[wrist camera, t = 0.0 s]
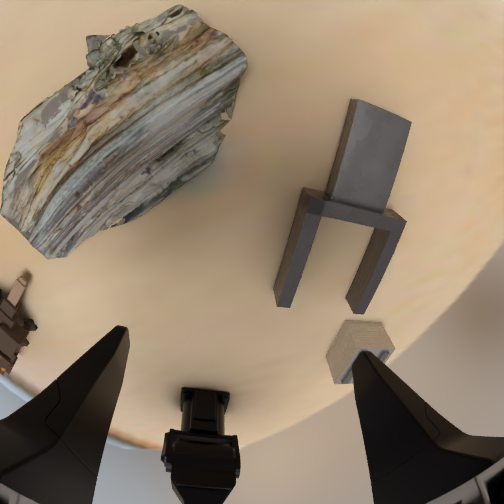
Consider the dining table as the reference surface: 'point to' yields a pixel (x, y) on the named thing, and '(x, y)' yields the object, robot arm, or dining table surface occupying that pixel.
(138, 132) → the rock
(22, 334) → the video game creature
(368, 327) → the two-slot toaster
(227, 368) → the dining table surface
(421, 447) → the robot arm
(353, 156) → the bracket
